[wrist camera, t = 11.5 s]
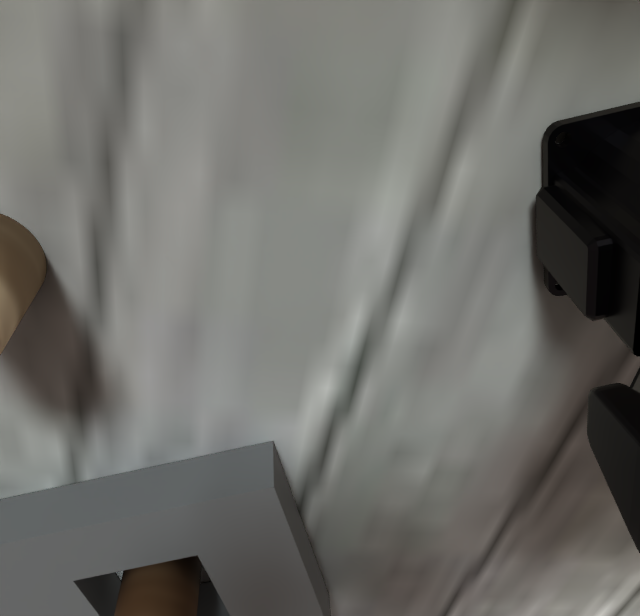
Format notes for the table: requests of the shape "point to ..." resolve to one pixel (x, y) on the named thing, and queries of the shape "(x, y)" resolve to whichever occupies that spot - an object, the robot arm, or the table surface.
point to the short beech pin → (17, 274)
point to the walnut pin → (161, 589)
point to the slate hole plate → (163, 539)
